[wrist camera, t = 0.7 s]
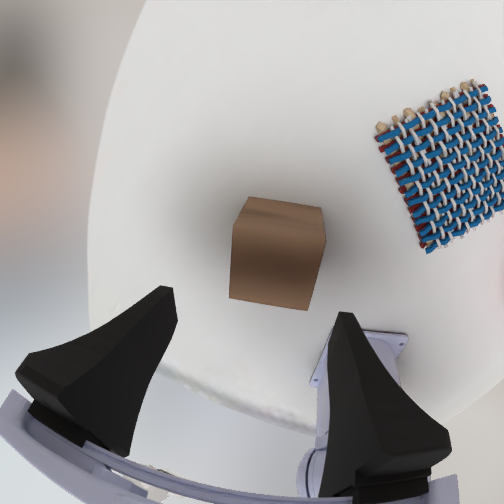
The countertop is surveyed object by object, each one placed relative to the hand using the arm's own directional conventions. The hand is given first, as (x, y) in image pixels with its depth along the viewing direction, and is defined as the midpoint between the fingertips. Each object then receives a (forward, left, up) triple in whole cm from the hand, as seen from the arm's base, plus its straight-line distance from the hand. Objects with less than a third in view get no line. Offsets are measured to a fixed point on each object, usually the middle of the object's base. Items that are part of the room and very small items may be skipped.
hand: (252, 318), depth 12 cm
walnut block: (-1, -1, -10) cm, 10 cm away
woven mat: (+7, -13, -10) cm, 18 cm away
